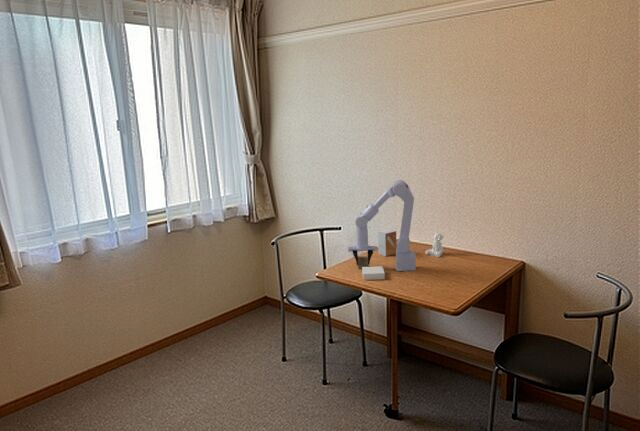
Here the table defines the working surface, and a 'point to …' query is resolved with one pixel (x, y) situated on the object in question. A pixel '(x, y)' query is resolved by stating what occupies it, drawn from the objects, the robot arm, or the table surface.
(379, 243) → the small box
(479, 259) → the table surface
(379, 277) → the base block
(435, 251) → the white creature statuette
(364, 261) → the walnut cube
